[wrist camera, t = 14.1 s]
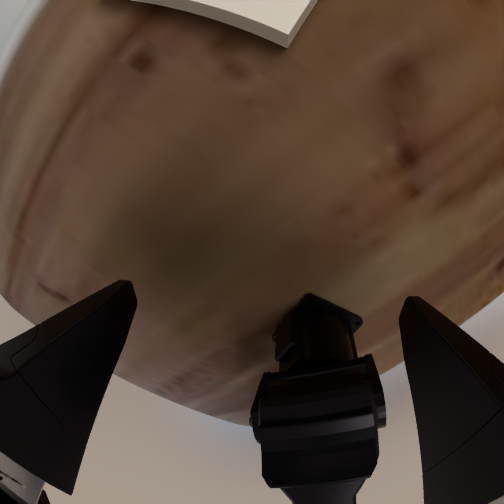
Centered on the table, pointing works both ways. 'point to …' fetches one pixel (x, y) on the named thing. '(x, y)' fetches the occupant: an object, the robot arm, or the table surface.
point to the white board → (251, 15)
